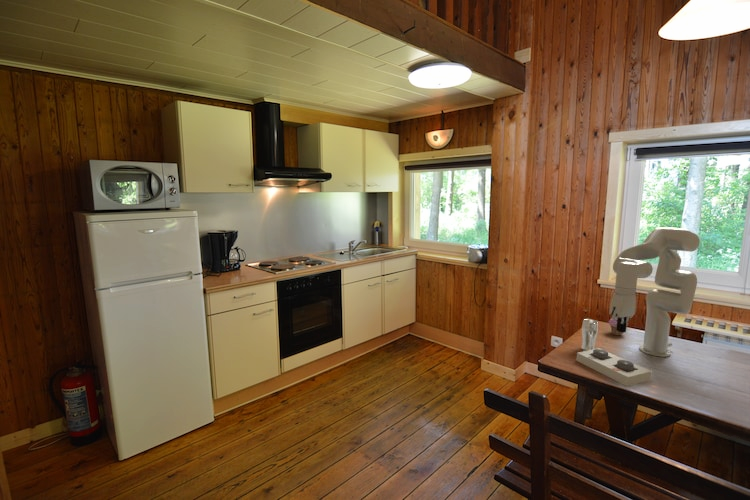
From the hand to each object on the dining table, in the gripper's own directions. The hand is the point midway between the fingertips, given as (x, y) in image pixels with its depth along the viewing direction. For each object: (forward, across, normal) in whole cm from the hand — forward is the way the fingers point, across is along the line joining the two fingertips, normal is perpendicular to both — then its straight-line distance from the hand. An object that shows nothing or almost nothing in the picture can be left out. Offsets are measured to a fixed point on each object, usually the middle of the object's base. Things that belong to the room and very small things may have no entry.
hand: (621, 331), depth 164 cm
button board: (+19, 0, -3) cm, 19 cm away
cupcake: (+19, -40, -33) cm, 55 cm away
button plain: (+16, 0, -9) cm, 18 cm away
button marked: (+16, 0, +3) cm, 17 cm away
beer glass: (+19, -8, -23) cm, 31 cm away
